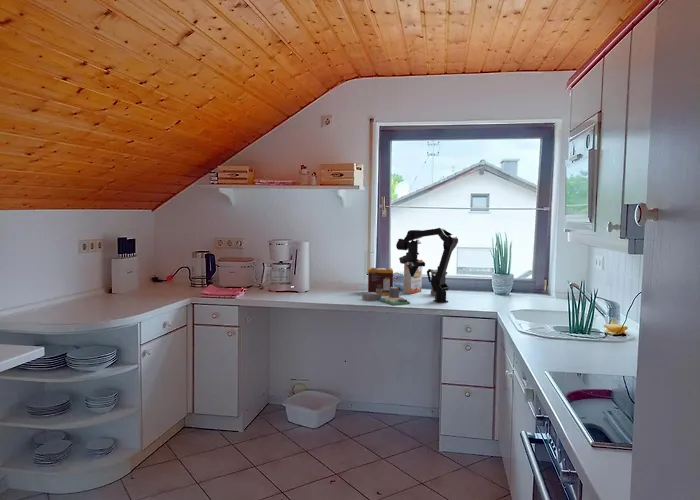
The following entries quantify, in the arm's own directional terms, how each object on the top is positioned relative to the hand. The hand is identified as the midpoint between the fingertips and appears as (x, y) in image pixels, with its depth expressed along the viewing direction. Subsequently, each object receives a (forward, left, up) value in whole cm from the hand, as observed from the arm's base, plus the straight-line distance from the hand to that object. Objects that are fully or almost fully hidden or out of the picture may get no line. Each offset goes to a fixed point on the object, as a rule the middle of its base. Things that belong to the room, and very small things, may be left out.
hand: (412, 276), depth 303 cm
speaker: (+3, +26, -12) cm, 29 cm away
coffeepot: (+1, -19, -13) cm, 23 cm away
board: (-9, +18, -12) cm, 24 cm away
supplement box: (+19, +11, -13) cm, 25 cm away
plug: (-9, +18, -11) cm, 23 cm away
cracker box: (+14, -10, -13) cm, 21 cm away
